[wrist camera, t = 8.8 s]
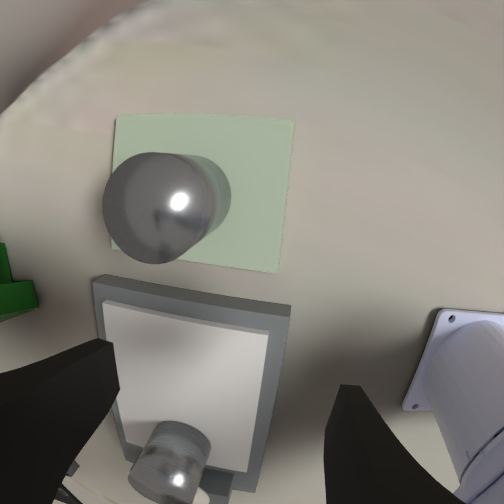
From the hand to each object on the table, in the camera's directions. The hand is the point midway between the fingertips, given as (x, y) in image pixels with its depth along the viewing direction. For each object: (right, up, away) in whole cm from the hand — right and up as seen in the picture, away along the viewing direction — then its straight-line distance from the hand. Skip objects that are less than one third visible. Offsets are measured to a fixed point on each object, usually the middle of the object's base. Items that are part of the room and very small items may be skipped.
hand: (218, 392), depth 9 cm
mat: (-2, +8, +8) cm, 11 cm away
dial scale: (-4, -7, +12) cm, 14 cm away
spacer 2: (-4, -10, +11) cm, 15 cm away
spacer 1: (-2, +7, +8) cm, 11 cm away
